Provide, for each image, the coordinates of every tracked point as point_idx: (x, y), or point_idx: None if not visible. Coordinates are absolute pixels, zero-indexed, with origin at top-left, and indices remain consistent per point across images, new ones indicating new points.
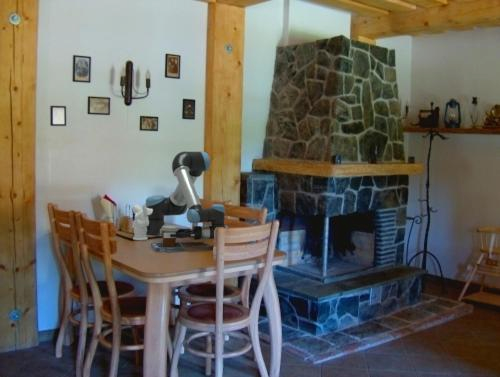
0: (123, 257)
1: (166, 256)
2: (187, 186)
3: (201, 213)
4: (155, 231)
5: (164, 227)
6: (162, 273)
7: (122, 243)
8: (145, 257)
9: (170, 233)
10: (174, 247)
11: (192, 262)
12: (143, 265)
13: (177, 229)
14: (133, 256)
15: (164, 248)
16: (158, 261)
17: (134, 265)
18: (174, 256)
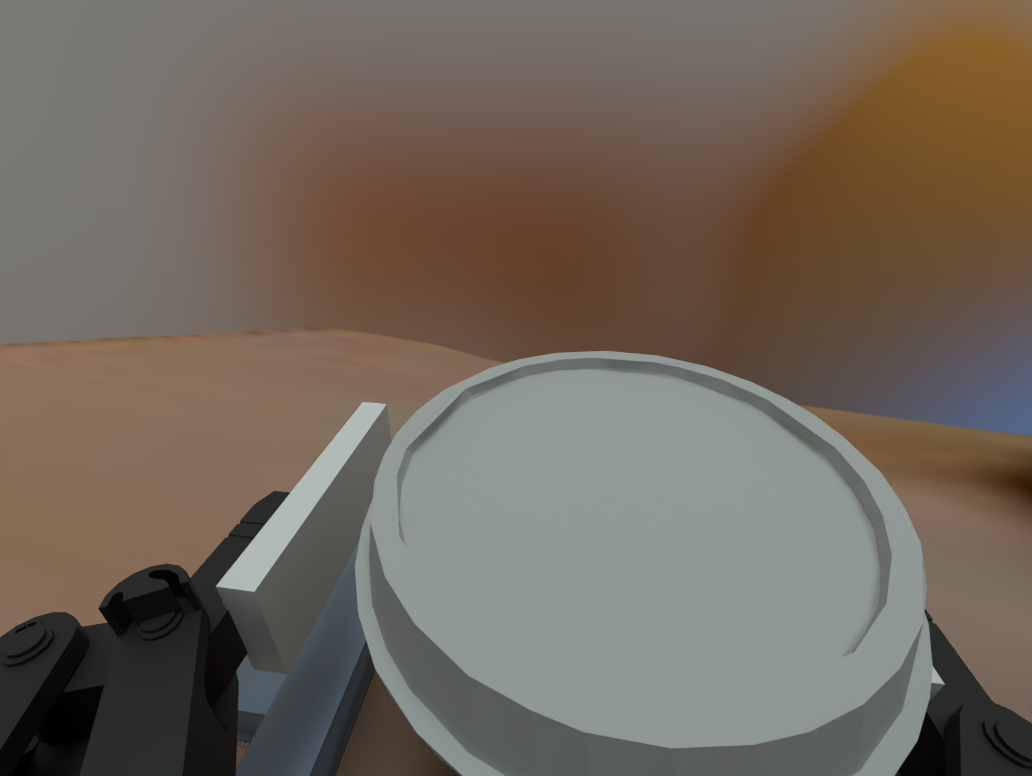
0: (352, 351)
1: (118, 548)
2: None
3: None
4: None
5: (515, 364)
6: None
7: (818, 412)
8: (254, 417)
9: (302, 486)
10: (282, 733)
11: None
12: (70, 371)
13: (424, 697)
14: (341, 381)
15: (344, 571)
16: (42, 446)
17: (126, 349)
18: (9, 629)
